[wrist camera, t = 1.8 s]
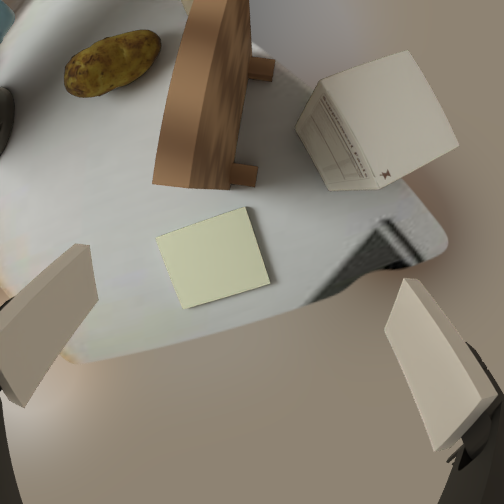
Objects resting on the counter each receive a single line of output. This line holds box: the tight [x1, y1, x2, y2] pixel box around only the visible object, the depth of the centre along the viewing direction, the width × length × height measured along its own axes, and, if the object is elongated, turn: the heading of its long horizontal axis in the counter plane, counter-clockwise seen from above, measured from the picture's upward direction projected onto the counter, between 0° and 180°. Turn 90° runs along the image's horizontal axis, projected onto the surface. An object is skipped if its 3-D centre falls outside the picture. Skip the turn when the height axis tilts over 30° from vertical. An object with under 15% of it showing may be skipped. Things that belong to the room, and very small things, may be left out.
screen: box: [152, 0, 275, 190], centre depth 24 cm, size 18×8×22 cm, turn 171°
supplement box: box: [295, 50, 460, 191], centre depth 27 cm, size 10×9×17 cm
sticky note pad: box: [156, 207, 270, 309], centre depth 38 cm, size 10×12×1 cm
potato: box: [64, 30, 161, 98], centre depth 29 cm, size 8×13×8 cm, turn 99°
